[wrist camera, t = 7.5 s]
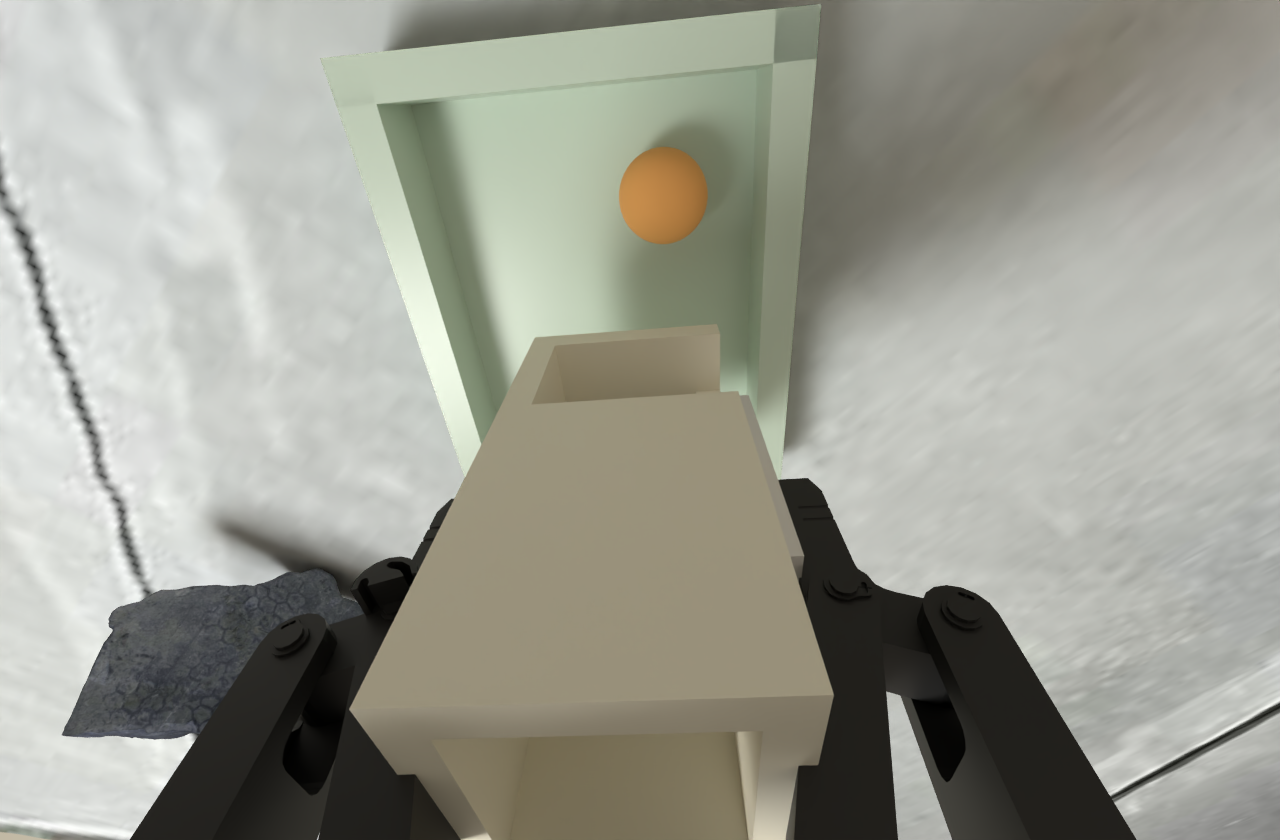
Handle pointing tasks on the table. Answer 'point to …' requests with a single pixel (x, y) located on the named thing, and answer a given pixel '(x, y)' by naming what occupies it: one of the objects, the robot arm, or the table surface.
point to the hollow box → (607, 614)
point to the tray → (588, 194)
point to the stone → (190, 652)
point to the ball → (663, 195)
